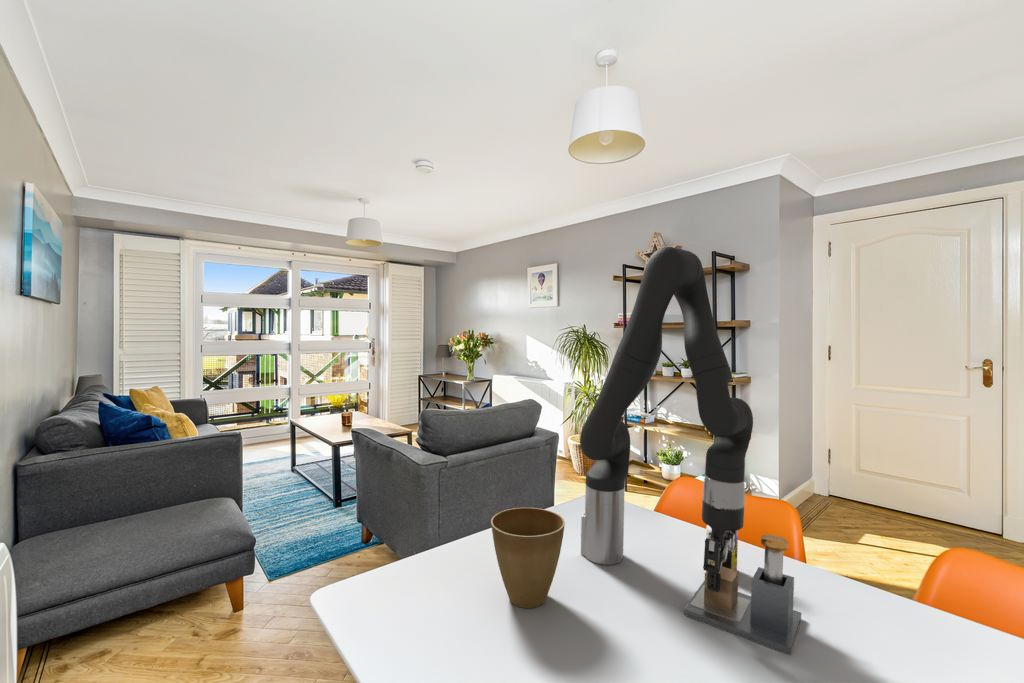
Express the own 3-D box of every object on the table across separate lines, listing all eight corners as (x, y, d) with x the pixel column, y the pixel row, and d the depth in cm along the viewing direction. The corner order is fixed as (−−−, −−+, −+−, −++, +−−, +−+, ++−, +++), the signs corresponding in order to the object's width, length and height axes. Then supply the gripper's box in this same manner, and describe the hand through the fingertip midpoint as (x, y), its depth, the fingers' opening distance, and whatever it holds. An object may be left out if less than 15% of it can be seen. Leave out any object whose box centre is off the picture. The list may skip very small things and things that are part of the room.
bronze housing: (704, 603, 94) (704, 573, 94) (711, 592, 98) (712, 563, 98) (731, 612, 91) (732, 581, 91) (737, 601, 95) (738, 571, 95)
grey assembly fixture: (683, 614, 93) (685, 567, 92) (703, 586, 103) (705, 544, 103) (790, 655, 82) (792, 602, 81) (801, 618, 92) (802, 571, 92)
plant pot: (572, 588, 101) (574, 513, 101) (547, 628, 88) (549, 542, 87) (509, 572, 108) (510, 501, 107) (476, 607, 94) (477, 526, 94)
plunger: (756, 599, 89) (758, 540, 88) (761, 588, 92) (763, 532, 92) (783, 607, 86) (786, 547, 86) (787, 597, 89) (789, 538, 89)
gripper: (713, 486, 102) (710, 560, 103) (692, 505, 91) (688, 589, 91) (752, 494, 97) (748, 572, 98) (734, 516, 86) (730, 604, 87)
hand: (719, 580), depth 95 cm, fingers open, 8 cm apart
